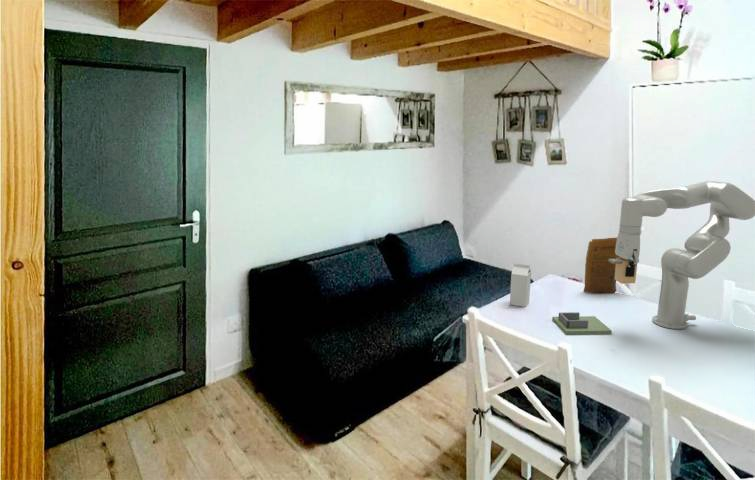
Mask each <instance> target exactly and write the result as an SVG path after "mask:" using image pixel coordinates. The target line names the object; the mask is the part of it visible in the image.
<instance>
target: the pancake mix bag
mask: <svg viewBox="0 0 755 480" xmlns="http://www.w3.org/2000/svg"><path fill="white" fill-rule="evenodd" d="M616 242H617V237H607V238H592V239H591V241H589V242H588V246H587V251H586V256H585V264H584V267H585V268H584V287H583V292H584V293H589V294H614V293H616V292H617V281H616V280H615V279H614V278H615V268H616V264H612V263H611V262H609V261H608V260H609V259H616V258H618V256H617V255H616V254H615V248H616Z"/></svg>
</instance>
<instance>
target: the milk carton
mask: <svg viewBox="0 0 755 480" xmlns="http://www.w3.org/2000/svg"><path fill="white" fill-rule="evenodd" d="M531 276H532V270H531V266H530V265H529V264H522V263H513V267H512V271H511V276H510V290H509V291H510V293H509V305H511V306H517V307H523V308H525V307H526V306H527V305H528V304H529V303H530V291H531V279H532V277H531Z"/></svg>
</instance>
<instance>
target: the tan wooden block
mask: <svg viewBox="0 0 755 480" xmlns="http://www.w3.org/2000/svg"><path fill="white" fill-rule="evenodd" d="M630 259H633V258H630ZM608 261H609V262H611V263H612V264H616V268H615V278H614V279H615V280H616V282H618V283H620V285H621V284H636V279H637V270H638V264H637V265H636V267H635V272H634V277H626V276H625V273H626V267H627V260H625V259H623V258H616V259H609V260H608ZM631 262H633V261H630V263H631Z"/></svg>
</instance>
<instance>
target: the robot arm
mask: <svg viewBox="0 0 755 480" xmlns="http://www.w3.org/2000/svg"><path fill="white" fill-rule="evenodd" d="M706 204H710V205H709V218H708V220H707V221H706V222H705V223H704V225H702V226H701V227H700V228H698V229H697V230H696V231H695V232H694V233H692V234H691V235H690V236H689V237H688V238H687V239H686V240H685V242H684V249H681V248H677V247H673V248H670V249H667V250H665V251H664V252H663V254H662V256H661V260H660V261H661V265H660V266H661V281H660V282H661V283H660V289H659V290H660V292H659V299H658V306H657V315H655V316H652V319H651V320H652V322H653V323H654V324H656V326H660V327H663V328H666V329H673V330H682V329H683V330H684V329H686V328H688V326H689V323H688V321H696V320H697V316H696V315H689V314H688V313H686V308H687V307H686V306H687V301H688V300H687V299H688V293H689V287H690V285H689V283H690V281H689V279H693V280H697V279H698V280H699V279H701V278H703V277H706V275H707V274H710V272H711V271H713V270H714V269H715V268H717V267H718V266H719V265H721V263H723V262H724V261H725V260H726V259H727V258H728V257H729V254H730V252H731V247H732V246H731V244H730V242H729V240H728V239H726V237H727V236H728V234H729V233H730V219H734V220H740V221H749V220H751V219H753V218H754V217H755V199H754V198H753V197H751V196H750V195H748V193H746V192H745V191H743V190H742V189H740V188H739V187H737V185H735V184H733V183H729V182H724V181H714V180H713V181H712V180H707V181H702V182H697V183H694V184H690V185H686V186H681V187H673V188H667V189H657V190H650V191H646V192H641V193H638V194H636V195H634V196H632V197H631V196H630V197H624V198H623V199H622V200H621V208H620V220H619V228H618V229H619V230H618V233H617V236H616V238H617V242H616V248H615V254H616V255H617V256H618V258H623V259H625V260H627V267H626V273H625V276H626V277H634V272H635V267H636V265H637V266H638V263H639V262H640V259H639V258H640V251H641V233H642V226H643V217H651V218H657V217H661V216H663V215H664V214H665V213H666V212H667V211H668V209H673V210H685V209H689V208H694V207H697V206H701V205H706ZM630 258H632V259H630ZM630 261H633V262H631V263H630Z"/></svg>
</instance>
